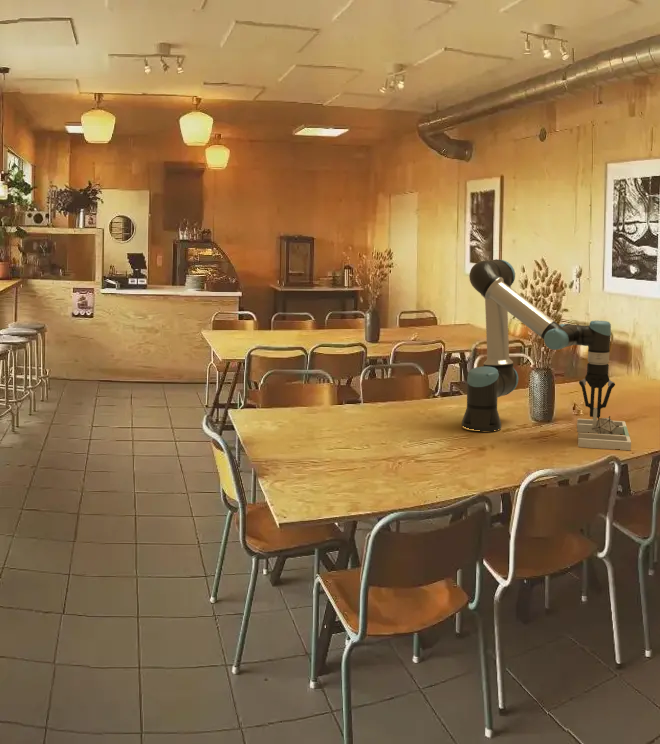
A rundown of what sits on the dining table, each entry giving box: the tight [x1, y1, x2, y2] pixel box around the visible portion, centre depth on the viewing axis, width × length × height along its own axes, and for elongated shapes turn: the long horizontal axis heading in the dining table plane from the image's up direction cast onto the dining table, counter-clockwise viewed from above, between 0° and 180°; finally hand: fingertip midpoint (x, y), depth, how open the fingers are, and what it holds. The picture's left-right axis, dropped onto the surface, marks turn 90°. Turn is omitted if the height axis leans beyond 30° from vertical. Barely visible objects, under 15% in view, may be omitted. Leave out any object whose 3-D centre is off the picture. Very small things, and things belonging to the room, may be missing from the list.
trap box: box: [576, 418, 632, 451], centre depth 304 cm, size 18×32×3 cm, turn 164°
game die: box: [592, 415, 619, 435], centre depth 303 cm, size 9×8×10 cm
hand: (594, 425), depth 305 cm, fingers closed
